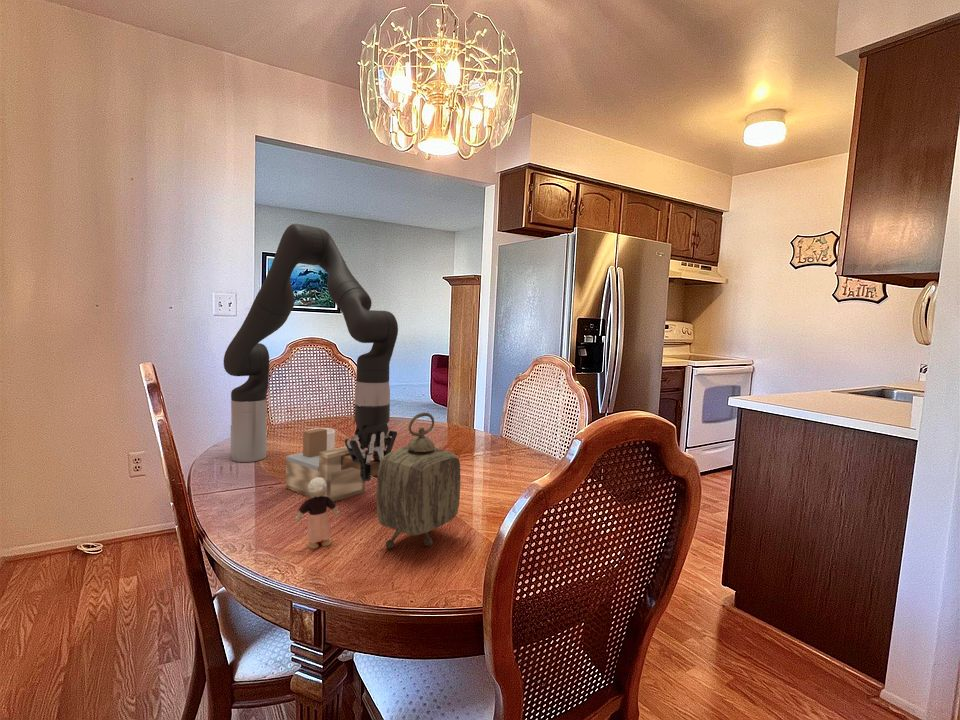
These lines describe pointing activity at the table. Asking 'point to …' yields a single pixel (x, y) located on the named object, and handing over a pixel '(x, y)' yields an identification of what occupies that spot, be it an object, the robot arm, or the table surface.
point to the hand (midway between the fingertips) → (371, 478)
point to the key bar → (348, 461)
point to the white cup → (329, 437)
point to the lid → (311, 449)
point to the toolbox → (327, 476)
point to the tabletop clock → (417, 487)
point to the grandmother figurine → (317, 514)
